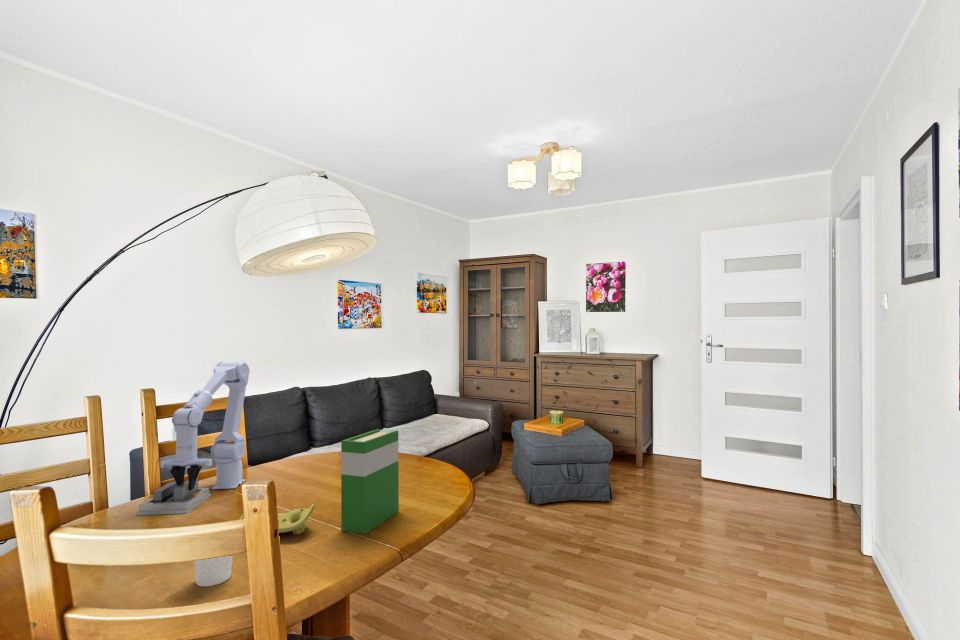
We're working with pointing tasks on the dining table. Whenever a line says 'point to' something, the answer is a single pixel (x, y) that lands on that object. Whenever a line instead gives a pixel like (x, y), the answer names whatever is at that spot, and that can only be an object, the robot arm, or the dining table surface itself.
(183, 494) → the panel
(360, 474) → the hardback book
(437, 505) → the dining table surface
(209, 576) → the white cup
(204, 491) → the rack
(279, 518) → the plastic component
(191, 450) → the robot arm
